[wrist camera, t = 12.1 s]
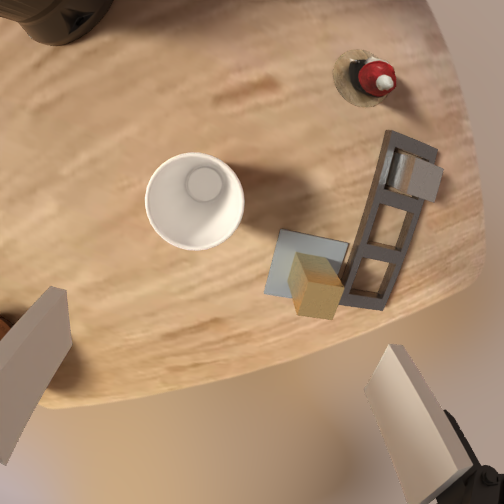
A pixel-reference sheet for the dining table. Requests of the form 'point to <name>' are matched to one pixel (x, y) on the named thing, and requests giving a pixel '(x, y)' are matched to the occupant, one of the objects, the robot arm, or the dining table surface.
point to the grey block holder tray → (361, 241)
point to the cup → (194, 201)
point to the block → (414, 176)
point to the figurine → (363, 78)
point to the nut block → (314, 286)
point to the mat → (302, 244)
